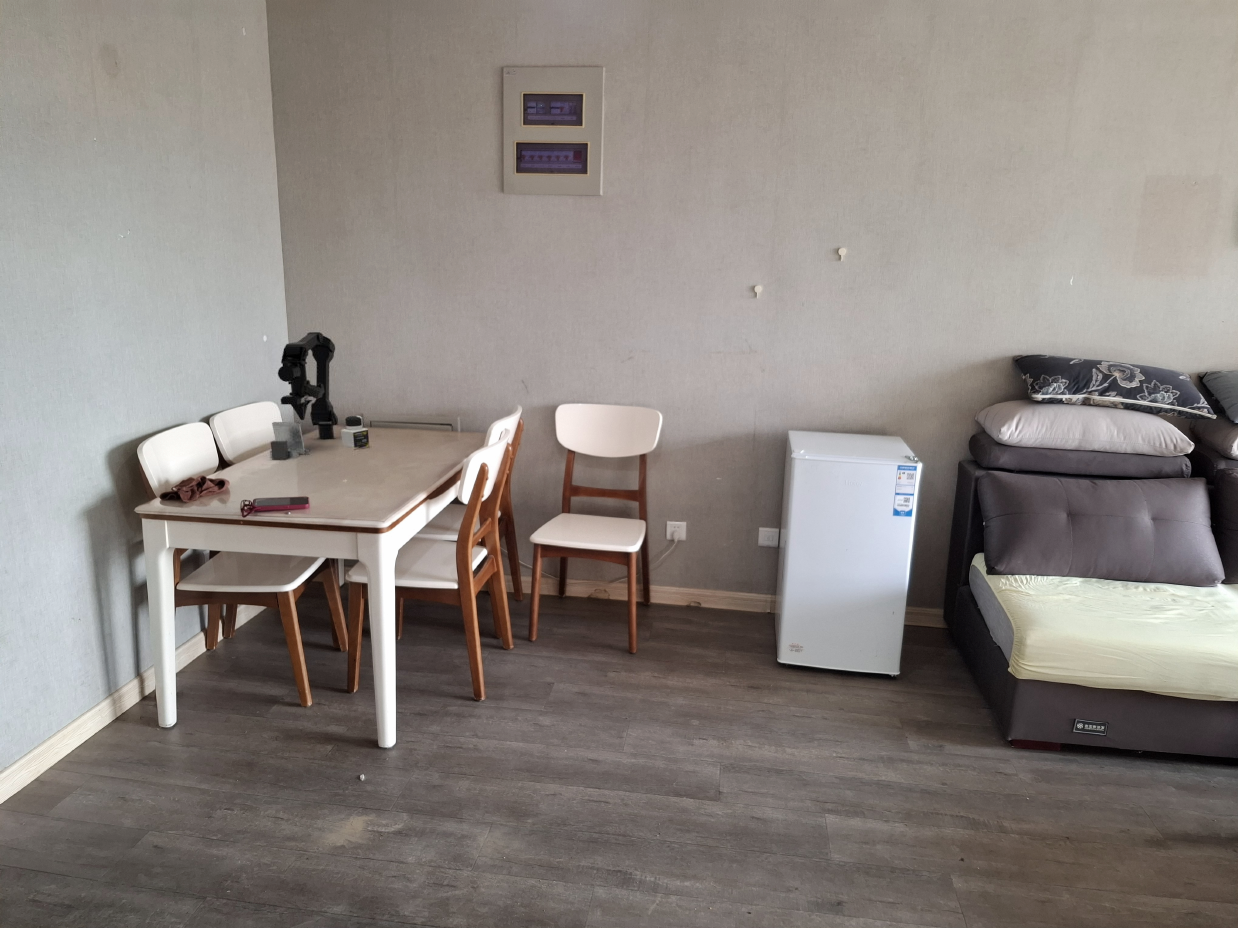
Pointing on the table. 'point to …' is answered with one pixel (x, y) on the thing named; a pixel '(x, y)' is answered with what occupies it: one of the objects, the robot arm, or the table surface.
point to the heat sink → (283, 451)
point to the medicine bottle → (355, 433)
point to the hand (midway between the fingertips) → (302, 419)
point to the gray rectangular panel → (289, 435)
